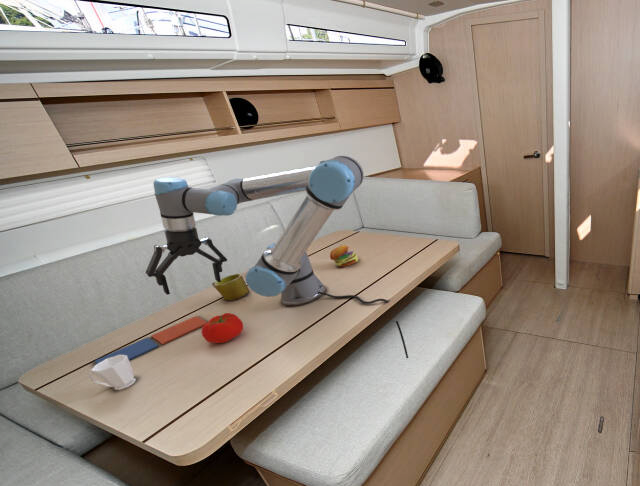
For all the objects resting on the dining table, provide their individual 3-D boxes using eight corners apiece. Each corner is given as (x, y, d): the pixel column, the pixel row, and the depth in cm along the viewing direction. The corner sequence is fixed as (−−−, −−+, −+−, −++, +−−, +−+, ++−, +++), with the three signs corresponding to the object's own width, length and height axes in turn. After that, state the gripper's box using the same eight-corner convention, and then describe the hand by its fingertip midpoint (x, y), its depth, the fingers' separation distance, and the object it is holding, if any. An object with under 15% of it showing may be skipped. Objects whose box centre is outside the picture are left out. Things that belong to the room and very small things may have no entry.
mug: (259, 285, 147) (239, 268, 141) (240, 304, 140) (218, 287, 134) (242, 287, 153) (222, 271, 147) (223, 305, 146) (202, 289, 140)
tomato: (227, 348, 112) (217, 329, 109) (199, 346, 114) (188, 327, 111) (254, 328, 121) (246, 310, 118) (228, 326, 124) (219, 309, 120)
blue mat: (158, 346, 116) (158, 345, 116) (104, 372, 106) (103, 370, 106) (148, 338, 121) (147, 337, 121) (95, 362, 111) (94, 360, 111)
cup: (130, 390, 98) (113, 368, 94) (88, 398, 96) (70, 376, 93) (148, 373, 104) (133, 351, 100) (109, 380, 102) (93, 358, 99)
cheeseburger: (356, 266, 162) (345, 247, 157) (335, 273, 162) (323, 255, 158) (361, 256, 171) (351, 239, 166) (341, 264, 171) (330, 246, 167)
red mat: (208, 323, 126) (207, 322, 126) (162, 345, 117) (161, 343, 116) (196, 317, 131) (196, 315, 131) (152, 337, 122) (151, 335, 121)
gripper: (223, 218, 122) (232, 272, 131) (119, 231, 103) (138, 293, 111) (232, 224, 119) (241, 280, 127) (127, 239, 99) (146, 303, 108)
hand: (193, 286), depth 119 cm, fingers open, 13 cm apart
